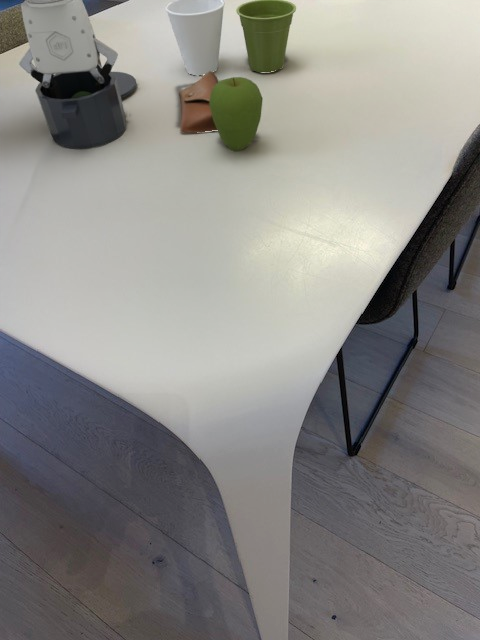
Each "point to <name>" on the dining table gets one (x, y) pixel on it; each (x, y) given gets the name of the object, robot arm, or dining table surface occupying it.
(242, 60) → the dining table surface
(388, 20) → the dining table surface
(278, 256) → the dining table surface
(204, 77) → the sunglasses case
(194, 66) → the cup
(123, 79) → the lid
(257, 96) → the apple
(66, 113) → the pot
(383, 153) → the dining table surface
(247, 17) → the plant pot
